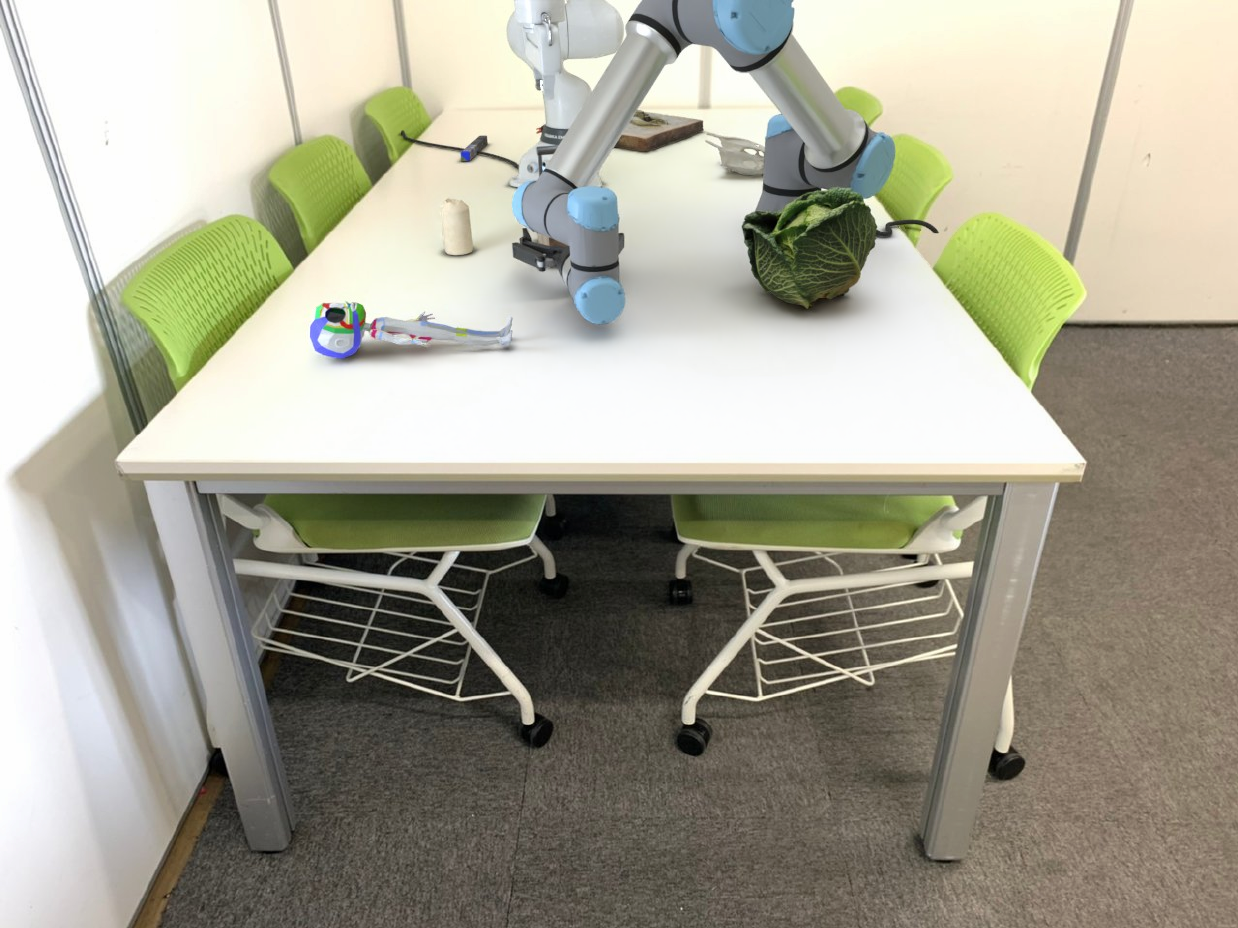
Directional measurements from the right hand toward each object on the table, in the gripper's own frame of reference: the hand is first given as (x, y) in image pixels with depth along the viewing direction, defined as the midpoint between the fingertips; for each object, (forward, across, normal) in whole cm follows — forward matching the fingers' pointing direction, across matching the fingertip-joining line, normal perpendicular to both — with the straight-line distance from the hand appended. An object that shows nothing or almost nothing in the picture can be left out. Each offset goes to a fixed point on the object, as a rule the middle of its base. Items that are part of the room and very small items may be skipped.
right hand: (561, 232), depth 166 cm
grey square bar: (+93, -8, -6) cm, 93 cm away
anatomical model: (+51, +58, -6) cm, 77 cm away
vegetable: (-28, +37, -6) cm, 47 cm away
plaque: (+100, +39, -6) cm, 107 cm away
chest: (+6, 0, -6) cm, 9 cm away
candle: (+12, -18, -6) cm, 23 cm away
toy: (-32, -29, -6) cm, 44 cm away
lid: (+7, 0, +4) cm, 8 cm away
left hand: (+12, 0, +22) cm, 25 cm away
